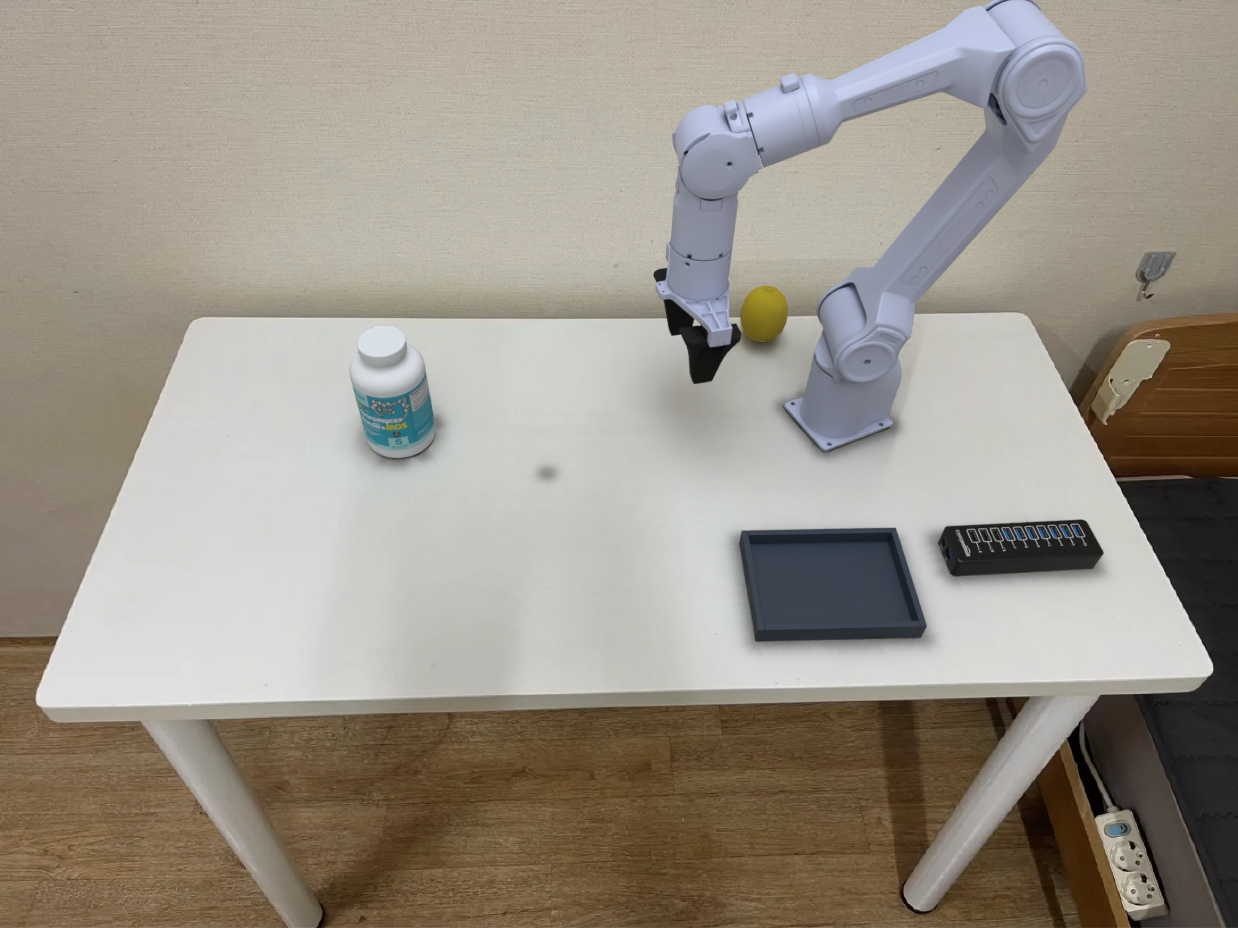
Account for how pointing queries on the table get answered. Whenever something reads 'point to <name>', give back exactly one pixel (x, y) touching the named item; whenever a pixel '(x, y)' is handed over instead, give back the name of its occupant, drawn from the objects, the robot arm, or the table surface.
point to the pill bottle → (392, 393)
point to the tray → (829, 585)
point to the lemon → (764, 313)
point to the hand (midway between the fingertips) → (690, 356)
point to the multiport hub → (1019, 547)
